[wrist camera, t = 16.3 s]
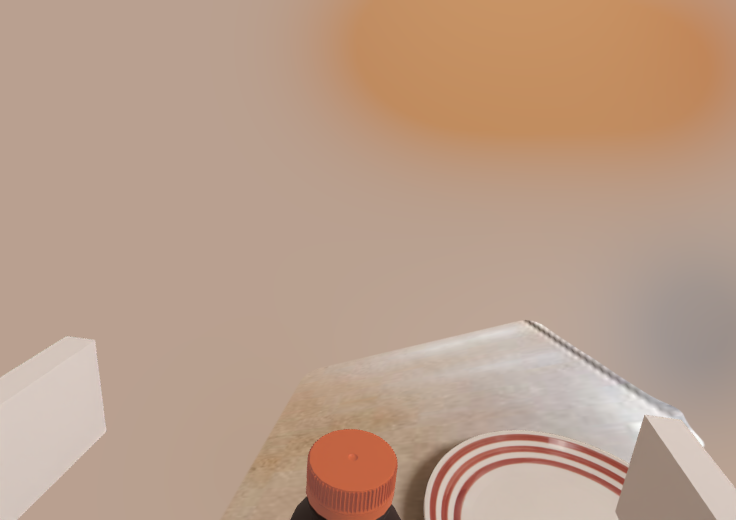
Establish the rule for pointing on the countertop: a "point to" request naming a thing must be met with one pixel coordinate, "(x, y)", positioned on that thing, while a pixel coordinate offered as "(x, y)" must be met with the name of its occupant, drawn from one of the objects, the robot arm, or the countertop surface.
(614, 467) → the dinner plate
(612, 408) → the countertop surface
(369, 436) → the vinegar
